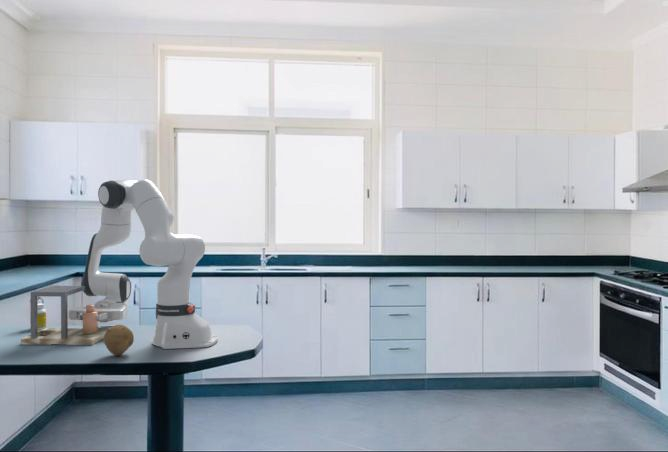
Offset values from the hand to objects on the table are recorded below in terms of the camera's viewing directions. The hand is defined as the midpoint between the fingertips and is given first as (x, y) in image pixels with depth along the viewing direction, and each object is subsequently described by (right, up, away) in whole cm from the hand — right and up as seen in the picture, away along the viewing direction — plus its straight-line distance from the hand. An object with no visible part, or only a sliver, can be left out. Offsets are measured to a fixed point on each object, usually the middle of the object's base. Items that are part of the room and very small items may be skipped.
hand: (89, 317), depth 188 cm
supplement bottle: (-28, -7, +16) cm, 33 cm away
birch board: (-8, -8, +1) cm, 11 cm away
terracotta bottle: (0, -5, +1) cm, 6 cm away
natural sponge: (+19, -9, -19) cm, 28 cm away
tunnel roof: (-11, -6, 0) cm, 13 cm away
